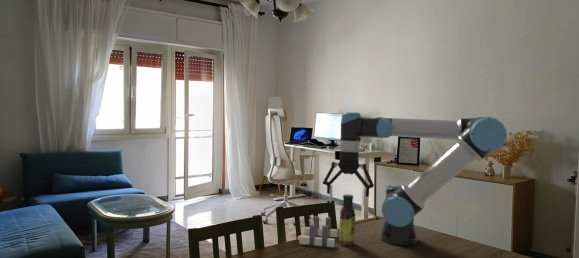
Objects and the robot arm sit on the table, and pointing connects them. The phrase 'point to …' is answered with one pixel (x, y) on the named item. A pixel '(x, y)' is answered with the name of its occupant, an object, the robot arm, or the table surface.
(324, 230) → the grey block structure
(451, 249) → the table surface
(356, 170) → the robot arm
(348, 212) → the sauce bottle
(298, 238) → the pad
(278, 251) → the table surface
